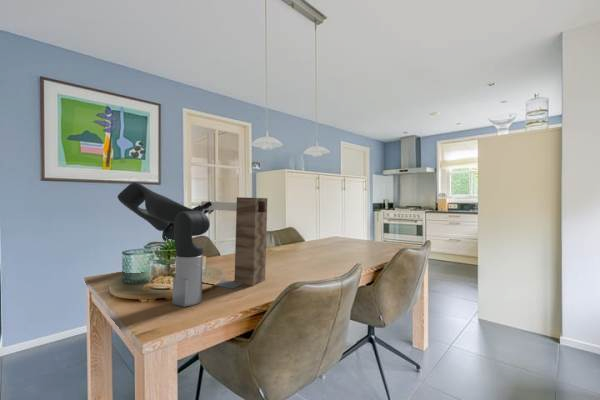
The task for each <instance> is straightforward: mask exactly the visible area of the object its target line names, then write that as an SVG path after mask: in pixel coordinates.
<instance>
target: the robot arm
mask: <svg viewBox="0 0 600 400" xmlns="http://www.w3.org/2000/svg"><path fill="white" fill-rule="evenodd" d="M117 199H118V201H119V202H120V203H121V204H122V205H123V206H125V208H127V209H129V210H130V211H132V212H133V213H134V214H135V215H137V216H139V217H140V218H142V219H144V220H145V221H146V222H147V223H149V224H150V225H151V226H152V227H153V228H154V229H156V230H157V231H159V232H162V234H161V237H162V240H163V241H165V242H166V238H165V236H166V237H167V238H168V239H172V240H174V241H173V242H174V243H173V244H174V248H175V249H174V250H175V276H174V277H173V279H172V305H174V306H175V305H176V306H180V307H183V308H186V307H188V306H194V305H198V304H200V303H201V302H202V300H203V283H202V276H203V267H204V266H203V265H204V264H203V263H204V261H203V260H204V258H203V257H204V248H203V246H202V245H199V244H195V243H194V242H193V237H197V236H202V235H204V234H206V233H207V232H208V230H209V229H210V225H211V224H210V220H209V218H208V216H207V214H209V215H211V214H212V213H213V212H214V211H215V210H205V209H206V208H208V207H210V206H211V205H212V204H211V202H210V200H209V202H207V203H206V204H203V205H202V206H201V204H198V205H197V206H195V207H193V208H192V207H191V208H190V207H187V206H185V205H183V204H181V203H179V202H177V201H174V200H173V199H171V198H168V197H167V196H164V195H163V194H159V193H157V192H154V191H153V190H152V189H150V188H148V187H146V186H145V185H142V184H141V183H139V182H137V181H135V182H131V183H129V185H127V186H126V187H125V188H124V189H123V190H122V191H121V192H119V194H117ZM214 202H218V201H214ZM143 203H144V205H145V209H144V208H142V207H140V206H141V205H142V204H143Z"/></svg>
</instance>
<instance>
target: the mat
mask: <svg viewBox="0 0 600 400" xmlns="http://www.w3.org/2000/svg"><path fill="white" fill-rule="evenodd" d="M221 280H222V281H221V282H220V283H218V284H216V285H214V286H215V287H221V288H225V289H230V290H233V289H236V288H237V287H240V286H241V285H243V284H242V283H237V282H235V281H231V280H225V279H221Z"/></svg>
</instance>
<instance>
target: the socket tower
mask: <svg viewBox="0 0 600 400" xmlns="http://www.w3.org/2000/svg"><path fill="white" fill-rule="evenodd" d="M236 202H237V209H236V211H235V213H236V215H235V216H236V217H235V219H236V220H235V251H234V253H235V254H234V282H237V283H242V285H245V286H251V287H254V286H256V285H258V284H260V283H262V282H264V281H266V262H267V260H266V258H267V230H268V229H267V227H268V226H267V223H268V222H267V221H268V198H267V197H242V196H241V197H236Z"/></svg>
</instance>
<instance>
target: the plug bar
mask: <svg viewBox="0 0 600 400" xmlns="http://www.w3.org/2000/svg"><path fill="white" fill-rule="evenodd" d="M209 201H210V200H209ZM209 201H207V200H201V202H200V205H201V206H202V205H203V204H206V203H207V202H209ZM210 202H211V204H212V205H211V206H210V207H208V208H206V209H205V210H214V211H228V212H236V209H237V201H217V202H215V201H210Z"/></svg>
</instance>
